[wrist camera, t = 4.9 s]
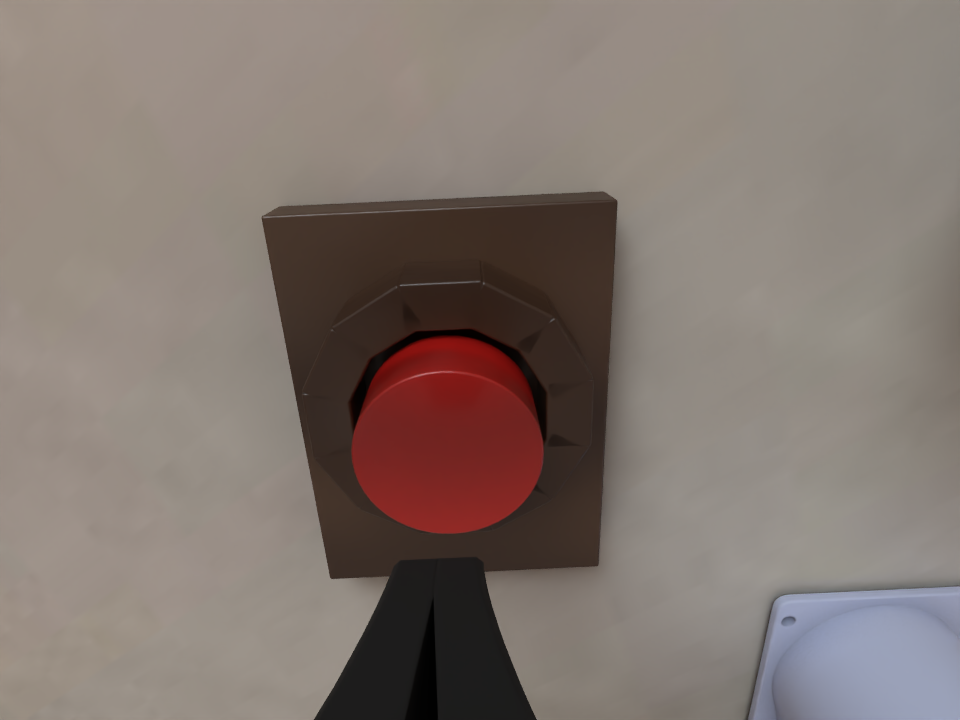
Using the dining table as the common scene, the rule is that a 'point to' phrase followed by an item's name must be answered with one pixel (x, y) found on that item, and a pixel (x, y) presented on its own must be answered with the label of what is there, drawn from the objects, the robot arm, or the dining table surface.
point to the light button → (448, 436)
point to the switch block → (463, 312)
